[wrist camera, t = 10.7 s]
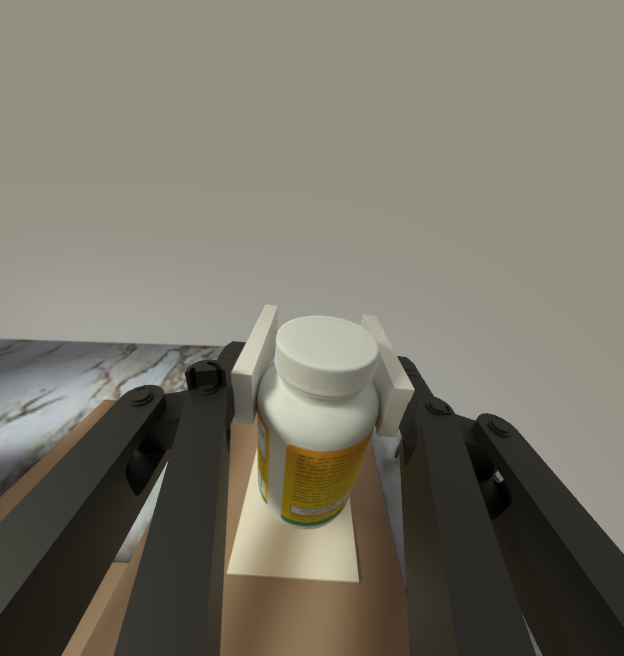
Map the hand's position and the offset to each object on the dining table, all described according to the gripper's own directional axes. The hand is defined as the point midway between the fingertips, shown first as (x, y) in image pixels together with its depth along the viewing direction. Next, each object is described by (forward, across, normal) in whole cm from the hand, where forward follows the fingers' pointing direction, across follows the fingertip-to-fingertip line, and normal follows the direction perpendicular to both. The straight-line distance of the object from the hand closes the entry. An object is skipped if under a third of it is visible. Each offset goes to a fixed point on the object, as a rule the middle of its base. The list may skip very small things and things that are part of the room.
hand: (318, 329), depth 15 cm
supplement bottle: (-5, 0, -7) cm, 9 cm away
